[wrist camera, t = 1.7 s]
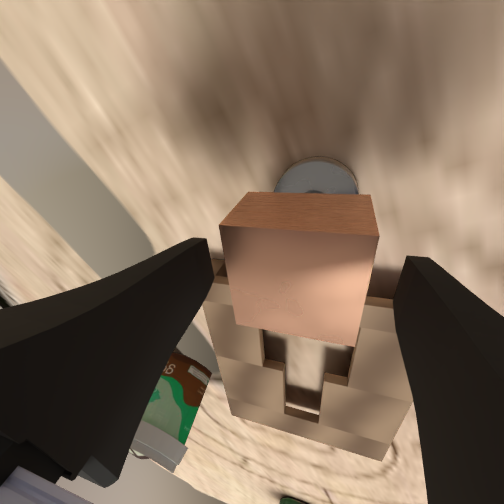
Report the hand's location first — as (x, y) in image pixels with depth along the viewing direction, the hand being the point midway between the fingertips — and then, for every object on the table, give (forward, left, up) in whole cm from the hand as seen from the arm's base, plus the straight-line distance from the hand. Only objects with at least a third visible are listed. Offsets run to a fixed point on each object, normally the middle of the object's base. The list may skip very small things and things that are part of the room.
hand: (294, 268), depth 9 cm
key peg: (0, 0, -7) cm, 7 cm away
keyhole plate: (0, +16, -7) cm, 18 cm away
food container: (+17, +23, -8) cm, 30 cm away
